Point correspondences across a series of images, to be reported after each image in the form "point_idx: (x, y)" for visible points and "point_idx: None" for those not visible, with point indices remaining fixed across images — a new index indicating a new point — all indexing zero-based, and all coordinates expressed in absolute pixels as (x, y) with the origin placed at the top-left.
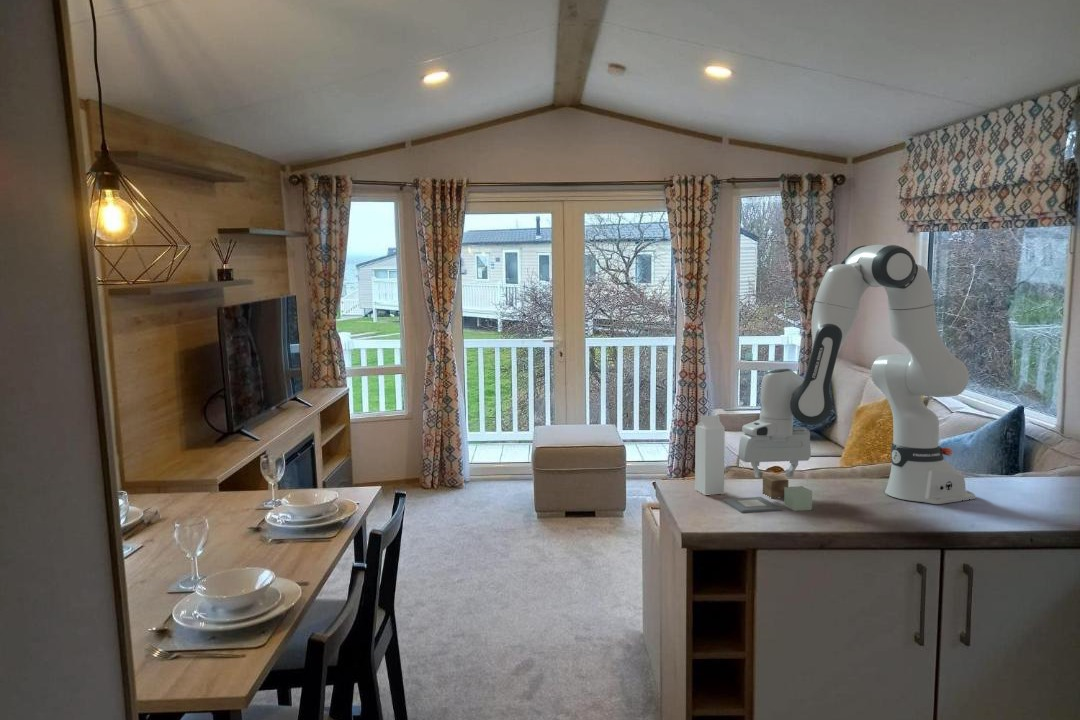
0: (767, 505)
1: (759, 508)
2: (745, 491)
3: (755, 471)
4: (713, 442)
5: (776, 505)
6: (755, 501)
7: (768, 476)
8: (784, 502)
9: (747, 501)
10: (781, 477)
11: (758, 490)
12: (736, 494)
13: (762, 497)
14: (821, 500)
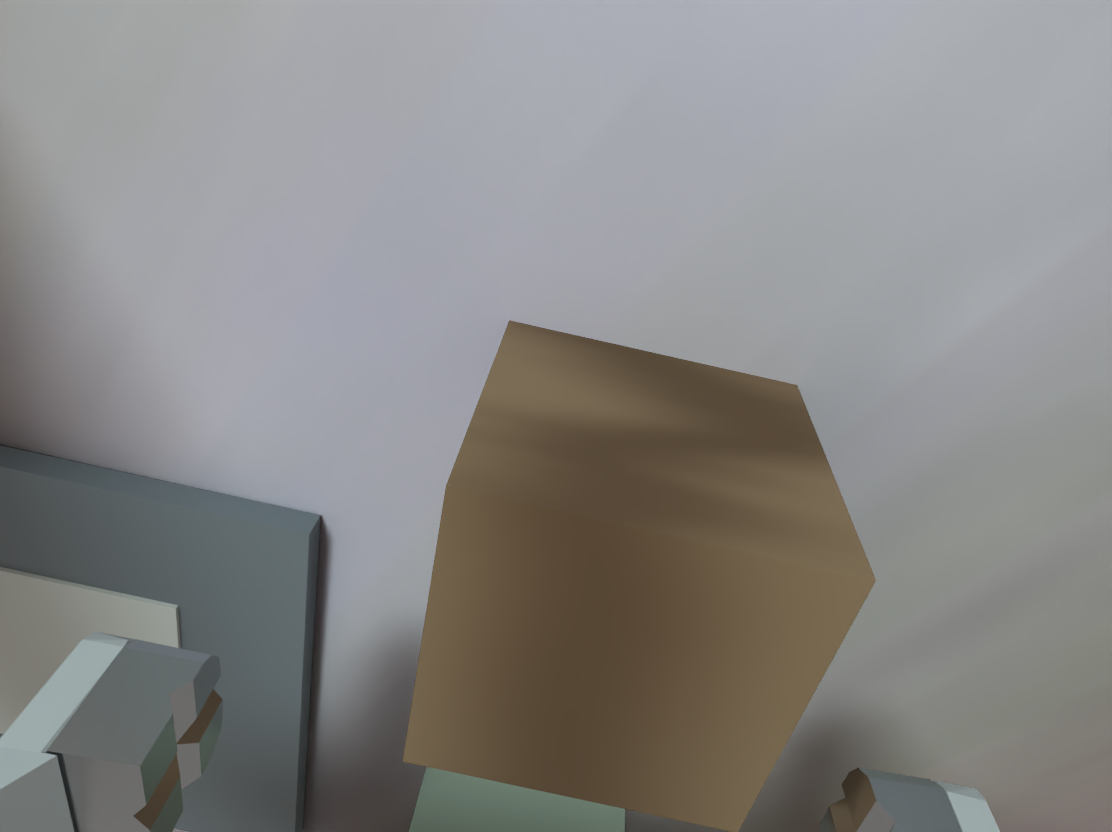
0: None
1: None
2: (307, 68)
3: (12, 760)
4: None
5: (291, 800)
6: None
7: (573, 537)
8: (419, 795)
9: (30, 620)
10: (767, 697)
11: (583, 114)
12: (66, 177)
13: (308, 564)
14: None
